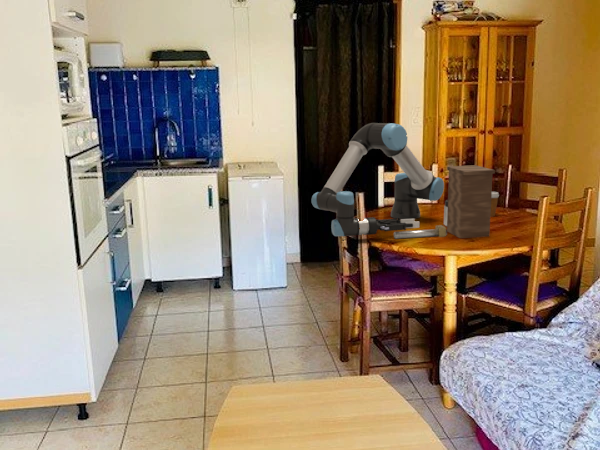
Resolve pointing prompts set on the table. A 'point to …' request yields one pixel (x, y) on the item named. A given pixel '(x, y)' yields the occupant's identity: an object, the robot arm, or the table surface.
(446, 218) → the jar
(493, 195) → the disposable coffee cup
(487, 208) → the stand
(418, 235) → the pipe
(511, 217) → the table surface
